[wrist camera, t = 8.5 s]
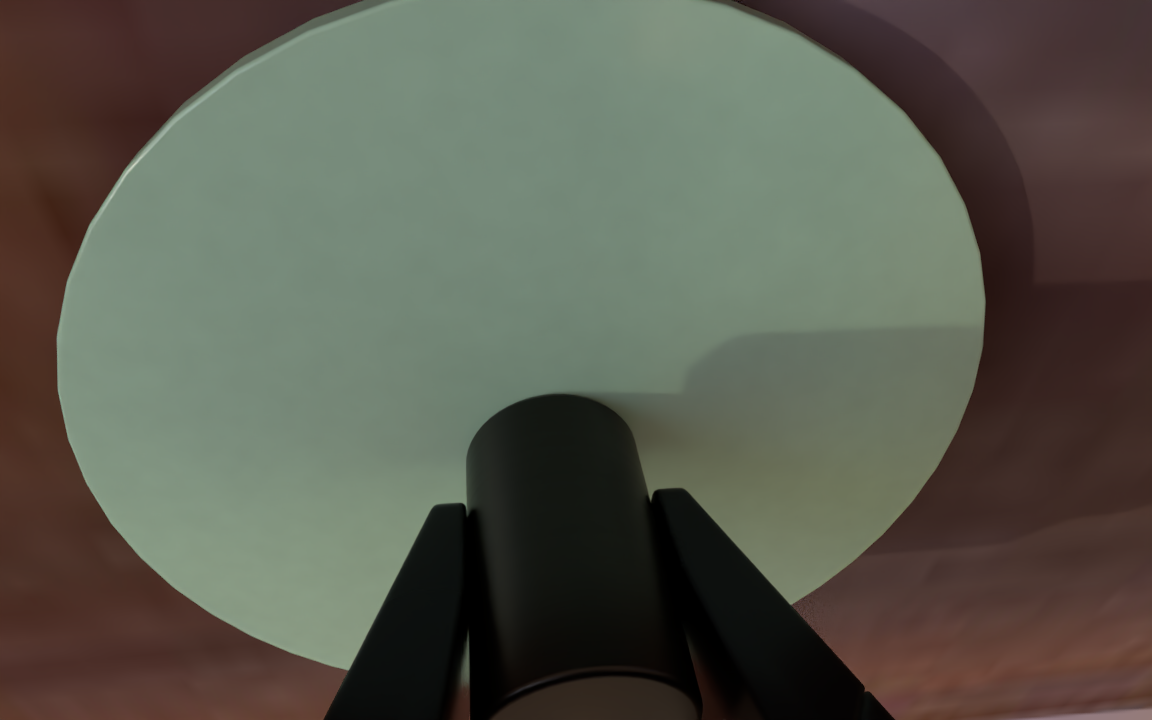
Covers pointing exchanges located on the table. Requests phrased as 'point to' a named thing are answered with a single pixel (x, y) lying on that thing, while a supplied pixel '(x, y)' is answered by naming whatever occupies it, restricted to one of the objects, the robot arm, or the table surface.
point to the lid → (519, 328)
